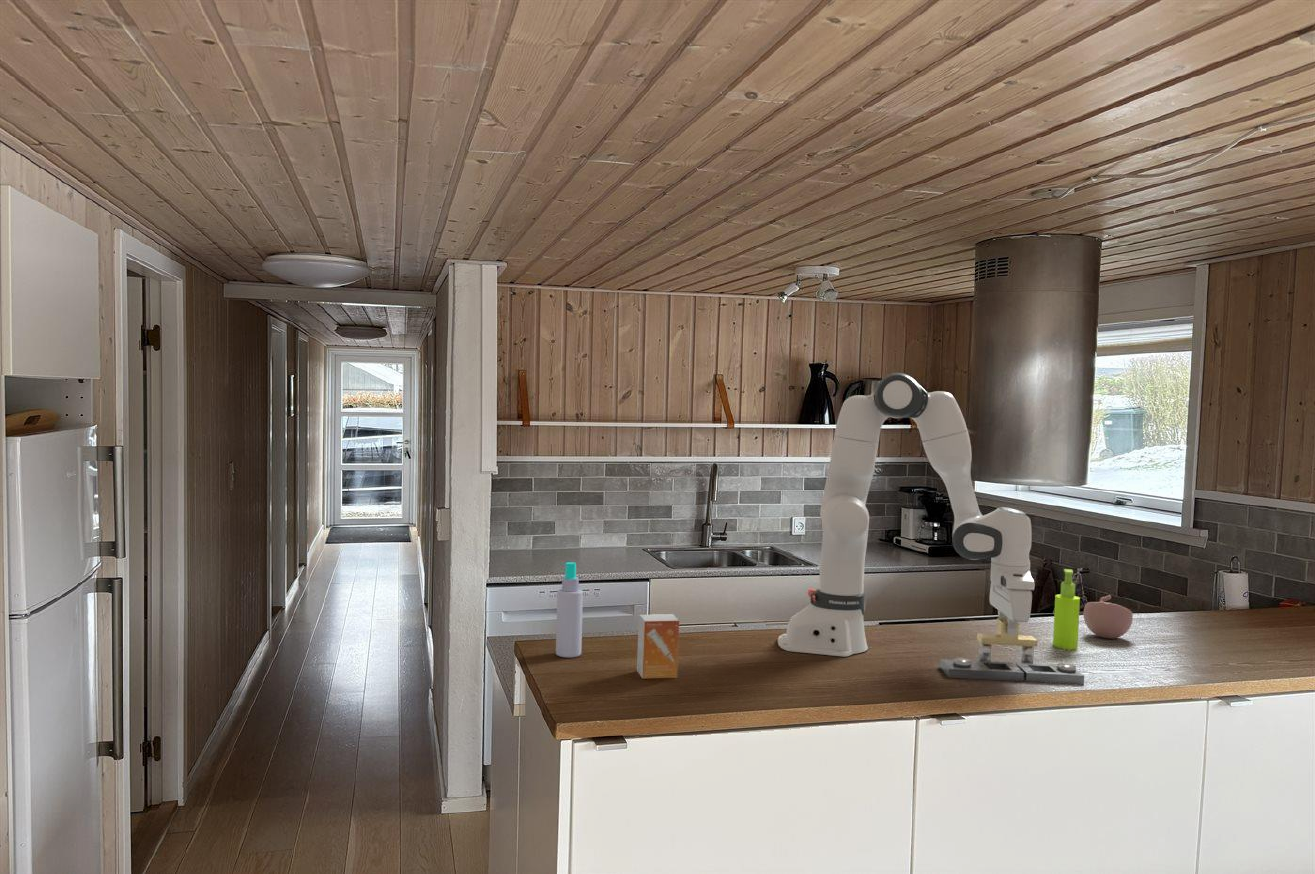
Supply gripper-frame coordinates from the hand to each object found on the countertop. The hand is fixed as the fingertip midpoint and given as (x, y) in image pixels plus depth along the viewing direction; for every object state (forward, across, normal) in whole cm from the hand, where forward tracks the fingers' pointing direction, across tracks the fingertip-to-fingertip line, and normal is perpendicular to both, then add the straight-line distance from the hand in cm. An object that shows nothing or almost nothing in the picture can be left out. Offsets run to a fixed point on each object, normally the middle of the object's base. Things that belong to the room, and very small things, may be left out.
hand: (1007, 632), depth 223 cm
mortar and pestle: (+8, -31, +36) cm, 48 cm away
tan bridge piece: (+8, 0, 0) cm, 8 cm away
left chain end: (+8, +10, -9) cm, 15 cm away
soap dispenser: (+8, -20, +21) cm, 30 cm away
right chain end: (+8, +10, +7) cm, 14 cm away
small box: (+8, +23, -83) cm, 86 cm away
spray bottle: (+8, +11, -105) cm, 106 cm away
